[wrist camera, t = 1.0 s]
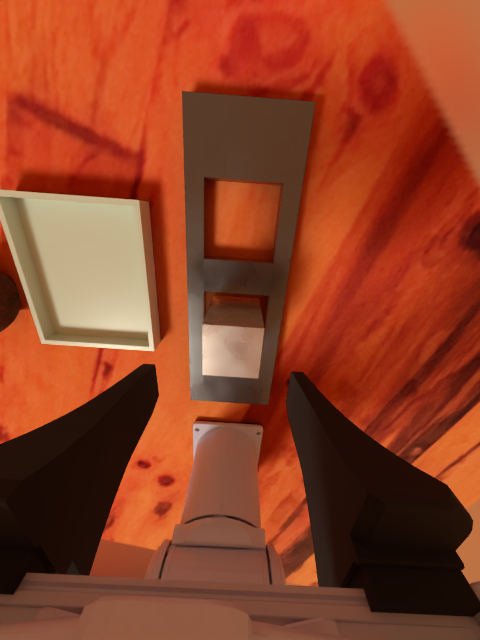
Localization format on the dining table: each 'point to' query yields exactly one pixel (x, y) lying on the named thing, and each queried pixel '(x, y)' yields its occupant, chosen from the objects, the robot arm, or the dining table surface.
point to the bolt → (8, 301)
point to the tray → (85, 268)
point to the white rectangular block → (232, 337)
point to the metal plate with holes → (247, 167)
